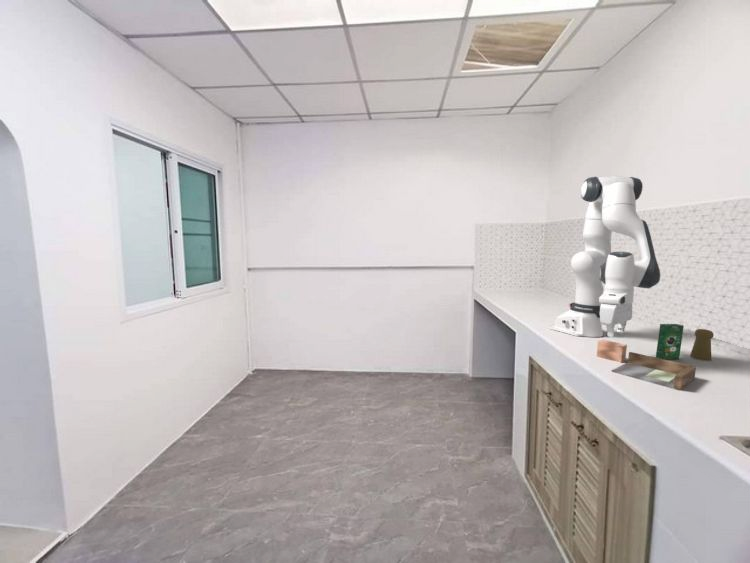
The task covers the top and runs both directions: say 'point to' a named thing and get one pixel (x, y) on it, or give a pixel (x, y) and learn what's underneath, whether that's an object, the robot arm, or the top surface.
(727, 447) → the top surface
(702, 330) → the cork
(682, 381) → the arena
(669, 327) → the coffee box
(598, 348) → the terracotta block
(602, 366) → the top surface
